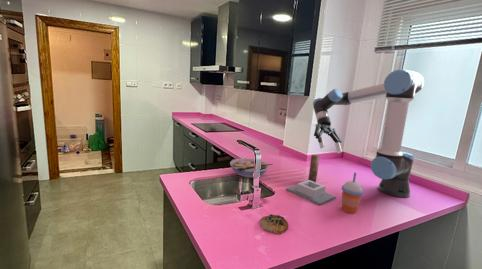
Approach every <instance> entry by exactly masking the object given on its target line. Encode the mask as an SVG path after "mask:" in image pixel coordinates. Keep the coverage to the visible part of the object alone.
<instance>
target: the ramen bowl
mask: <svg viewBox="0 0 482 269" xmlns="http://www.w3.org/2000/svg"><path fill="white" fill-rule="evenodd" d="M254 159H255V158H250V157H249V158H248V157H247V158H246V157H243V158H236V159H235V158H234V159H232V160H231V161H230V162H229V165H230V167H231V169H232V170H233V171H234V173H236V174H237V175H239V176H242V177H243V178H246V179H253V178H254V177H253V173H254ZM272 165H273V163H267V162H265V161H263V160H261V169H260V176H263V174H265V172H266V171H267V170H268V169H269V168H270V166H272Z"/></svg>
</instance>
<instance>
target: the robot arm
mask: <svg viewBox="0 0 482 269" xmlns="http://www.w3.org/2000/svg"><path fill="white" fill-rule="evenodd" d="M383 82H384V83H381V84H376V85H372V86H368V87H363V88H359V89H355V90H351V91H346V92H342V91H341V90H340V89H338V88H333V89H332V90H331V91H329V92H328V93H327V94H326V95H325V96H324V97H318V98H316V99H314V100H313V102H312V106H313V111H314V114H315V118H316V121H317V123H316V124H315V129H314V133H313V136H314V137H315V139H316V140H317V141H318V145H319V149H321V150H322V149H323V148H324V147H325V142H324V137H323V136H322V135H323V134H326V135H328V136H329V137H330V138H331V140H332V141H334V143H335V149H336V152H337V154H341V153H342V152H343V150H342V145H341V143H343V140H342V139H341V137H340V136H339V134H338V133H337V131H336V129H335V128H332V126H331V124H332V122H331V118H330V115H329V112H328V110H329V109H331V108H332V107H334V106H350V105H351V104H355V103H361V102H367V101H371V100H372V101H373V100H376V99H381V98H385V99H386V100H387V101H388V103H387V109H386V114H385V122H384V125H383V126H384V127H383V131H382V132H383V133H382V138H381V143H380V148H378V149H377V150H376V154H375V157H374V158H373V159H372V160H371V162H370V170H371V172H372V174H373V175H375V177H376V178H379V179H380V181H379V184H378V187H377V188H378V190H379V191H381V192H382V193H384V194H387V195H388V196H393V197H397V198H409V197H410V196H411V188H410V177H411V173H412V172H411V171H412V168H413V162H414V154H412V153H409V152H406V151H401V150H402V143H403V138H404V133H405V127H406V121H407V116H408V112H409V106H410V105H409V104H410V102H412V101H414V98H415V94H417V93H419V92H420V91H421V90H422V89H423V87H424V84H425V79H424V77H423V75H422V74H421V73H419V72H417V71H413V70H409V69H395V70H392V71H391V72H390V73H389V74H388V75H387V76H386V77H385V79H384V81H383Z"/></svg>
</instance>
